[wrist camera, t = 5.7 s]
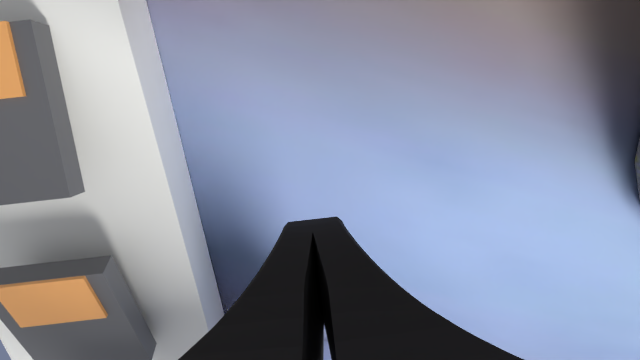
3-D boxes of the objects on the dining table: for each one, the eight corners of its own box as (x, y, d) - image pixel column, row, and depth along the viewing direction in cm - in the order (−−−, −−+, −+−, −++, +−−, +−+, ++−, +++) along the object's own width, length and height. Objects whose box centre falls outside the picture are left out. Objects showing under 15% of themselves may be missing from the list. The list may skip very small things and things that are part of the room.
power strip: (235, 358, 26) (228, 401, 23) (73, 377, 26) (46, 422, 23) (53, -371, 13) (-11, -469, 10) (-271, -339, 13) (-424, -429, 10)
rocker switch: (156, 343, 20) (150, 365, 20) (54, 355, 20) (43, 377, 19) (111, 255, 17) (101, 276, 16) (-11, 269, 17) (-28, 291, 16)
